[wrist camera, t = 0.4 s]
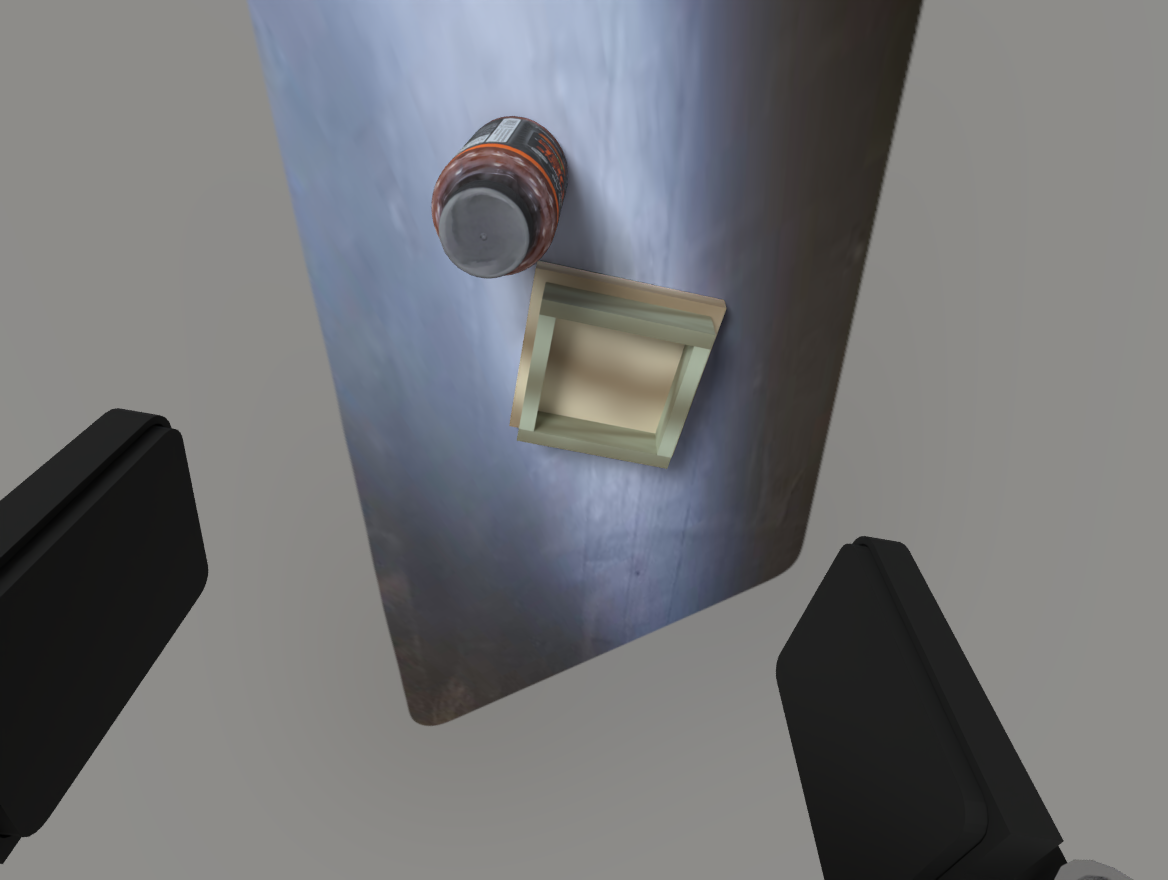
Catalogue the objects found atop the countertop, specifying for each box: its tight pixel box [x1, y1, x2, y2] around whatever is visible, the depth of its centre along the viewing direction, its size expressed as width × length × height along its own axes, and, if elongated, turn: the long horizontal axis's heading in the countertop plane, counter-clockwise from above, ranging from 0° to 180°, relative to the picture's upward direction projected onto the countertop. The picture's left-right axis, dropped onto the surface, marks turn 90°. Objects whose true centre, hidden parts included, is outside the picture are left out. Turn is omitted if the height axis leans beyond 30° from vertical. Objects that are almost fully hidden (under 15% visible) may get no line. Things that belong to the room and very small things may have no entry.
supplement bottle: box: [432, 116, 567, 278], centre depth 33 cm, size 6×6×11 cm
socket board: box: [509, 261, 726, 469], centre depth 43 cm, size 12×12×4 cm
